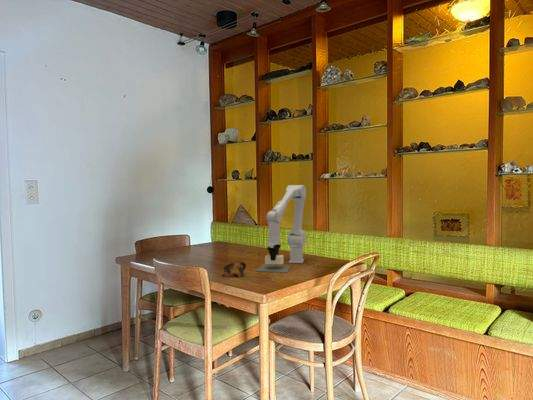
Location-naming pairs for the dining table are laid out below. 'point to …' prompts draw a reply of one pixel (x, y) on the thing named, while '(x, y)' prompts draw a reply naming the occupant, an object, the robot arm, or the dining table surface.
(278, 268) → the mat
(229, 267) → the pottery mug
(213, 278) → the dining table surface
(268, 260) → the box
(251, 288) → the dining table surface
